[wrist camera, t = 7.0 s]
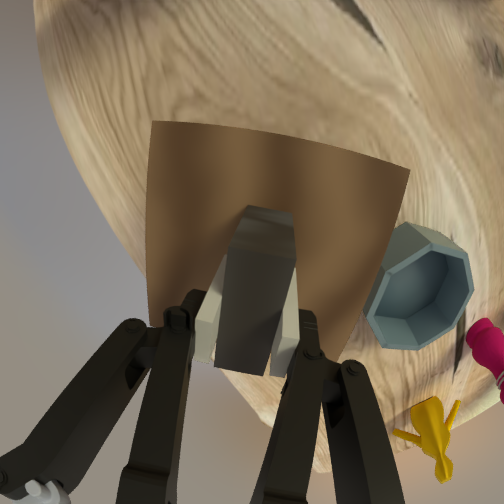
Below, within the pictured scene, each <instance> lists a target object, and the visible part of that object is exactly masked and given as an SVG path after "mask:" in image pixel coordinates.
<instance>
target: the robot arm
mask: <svg viewBox="0 0 504 504" xmlns="http://www.w3.org/2000/svg"><path fill="white" fill-rule="evenodd" d="M226 260H227V254H225V255H224V257H223V259H222V261H221V264H220V266H219V268H218V270H217V272H216V274H215V277H214V279H213V281H212V283H211V285H210V288H209V290H208V292H207V291H202V290H198V289H192V290H191V291H189V292H188V293H187V295H186V296H185V298H184V300H183V302H182V304H181V305H180V306H171V307H169V308H167V309H165V311H164V312H163V320H164V326H163V327H156V328H155V327H154V328H153V327H146V324H145V323H144V322H143V321H142V320H140V319H136V318H132V319H131V318H130V319H127V320H124V321H123V322H122V323H121V324H120V325H119V326H118V327H117V328H116V329H115V330H114V331H113V333H112V334H111V335H110V336H109V337H108V338H107V340H106V341H105V342H104V343H103V344H102V345H101V346H100V348H99V349H98V350H97V351H96V352H95V353H94V354H93V356H92V357H91V358H90V359H89V360H88V361H87V363H86V364H85V365H84V366H83V368H82V369H81V370H80V371H79V372H78V373H77V375H76V376H75V377H74V378H73V379H72V381H71V382H70V383H69V384H68V386H67V387H66V388H65V389H64V390H63V392H62V393H61V394H60V395H59V397H58V398H57V399H56V401H55V402H54V403H53V404H52V406H51V407H50V408H49V410H48V411H47V412H46V413H45V415H44V416H43V417H42V419H41V420H40V421H39V423H38V424H37V425H36V427H35V428H34V429H33V431H32V432H31V434H30V435H29V436H28V437H27V439H26V440H25V442H24V443H23V444H21V445H20V446H18V447H16V448H15V449H13V450H11V451H10V452H8V453H6V454H5V455H3V456H1V457H0V494H2V495H4V496H6V497H7V498H9V499H10V500H11V501H12V502H13V503H14V504H71V501H70V498H69V496H68V495H69V494H70V493H71V492H72V491H73V490H74V489H75V488H76V487H77V486H78V485H79V483H80V482H81V480H82V479H83V477H84V475H85V474H86V472H87V470H88V469H89V467H90V465H91V464H92V462H93V460H94V459H95V457H96V455H97V454H98V452H99V450H100V449H101V447H102V445H103V444H104V442H105V440H106V439H107V437H108V436H109V434H110V432H111V431H112V429H113V427H114V426H115V424H116V423H117V421H118V419H119V418H120V416H121V414H122V413H123V411H124V410H125V408H126V406H127V405H128V403H129V402H130V400H131V398H132V397H133V395H134V394H135V392H136V391H137V389H138V387H139V386H140V384H141V383H142V381H143V380H144V378H145V376H146V375H147V373H148V372H149V370H150V368H151V371H150V375H149V379H148V382H147V386H146V390H145V394H144V397H143V401H142V405H141V409H140V413H139V417H138V421H137V425H136V430H135V434H134V438H133V443H132V448H131V452H130V457H129V461H128V464H127V465H126V466H125V467H124V468H123V470H122V473H121V477H120V481H119V487H118V492H117V499H116V504H177V478H178V468H179V459H180V449H181V441H182V432H183V424H184V416H185V408H186V401H187V394H188V387H189V380H190V373H191V363H192V358H193V356H194V360H195V361H200V362H204V363H208V364H209V362H210V358H211V355H212V352H213V349H214V346H215V342H216V339H217V335H218V327H219V318H220V310H221V301H222V291H223V283H224V275H225V267H226ZM286 373H287V379H286V382H285V384H284V386H283V389H282V391H281V394H282V396H281V400H280V404H279V407H278V411H277V415H276V419H275V423H274V426H273V430H272V433H271V437H270V441H269V444H268V447H267V451H266V454H265V458H264V461H263V464H262V468H261V471H260V474H259V477H258V480H257V483H256V486H255V489H254V492H253V496H252V498H251V501H250V504H308V502H307V500H306V493H307V489H308V484H309V479H310V473H311V468H312V463H313V457H314V451H315V445H316V438H317V432H318V425H319V417H320V409H321V401H322V407H323V413H324V419H325V425H326V431H327V438H328V444H329V451H330V457H331V464H332V471H333V478H334V486H335V493H336V501H337V504H405V501H404V496H403V492H402V487H401V483H400V479H399V475H398V471H397V467H396V463H395V460H394V456H393V452H392V448H391V445H390V441H389V438H388V435H387V431H386V428H385V425H384V421H383V418H382V415H381V412H380V409H379V405H378V402H377V399H376V396H375V393H374V390H373V387H372V384H371V381H370V379H369V376H368V373H367V370H366V368H365V367H364V365H363V364H361V363H360V362H358V361H356V360H351V359H350V360H345V361H344V362H342V364H339V363H337V362H334V361H331V360H329V359H328V358H326V357H325V353H324V352H323V350H322V349H320V342H319V334H318V326H317V318H316V316H315V314H314V313H313V312H312V311H310V310H304V309H298V297H297V281H296V268H294V272H293V276H292V279H291V283H290V287H289V290H288V294H287V298H286V301H285V305H284V308H283V310H282V314H281V317H280V321H279V324H278V328H277V331H276V335H275V338H274V341H273V345H272V351H271V363H270V376H276V377H283V378H285V375H286Z"/></svg>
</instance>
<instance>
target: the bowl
mask: <svg viewBox="0 0 504 504" xmlns="http://www.w3.org/2000/svg"><path fill="white" fill-rule="evenodd" d="M473 292H474V285H473V279H472V273H471V268H470V263H469V258H468V254H467V253H466V252H465V251H464V250H463V249H462V248H460V247H459V246H458V245H457V244H455V243H454V242H453V241H451V240H450V239H449V238H448V237H446V236H445V235H444V234H442V233H441V232H438V231H435V230H432V229H429V228H426V227H422V226H419V225H416V224H412V223H409V222H405V223H403V224H402V225H400V226H398V227H397V228H395V229H394V230H393V232H392V235H391V238H390V241H389V244H388V247H387V250H386V252H385V255H384V258H383V260H382V263H381V266H380V268H379V271H378V273H377V276H376V279H375V281H374V283H373V286H372V288H371V291H370V293H369V295H368V298H367V300H366V302H365V305H364V307H363V312H364V314H365V317H366V319H367V321H368V323H369V324H370V326H371V328H372V330H373V332H374V334H375V336H376V337H377V339H378V341H379V343H380V345H381V347H382V348H387V349H401V350H420V349H421V348H423V347H425V346H426V345H428V344H430V343H431V342H433V341H435V340H436V339H438V338H439V337H441V336H443V335H444V334H446V333H447V332H449V331H450V330H452V329H453V328H454V327H455V325H456V324H457V322H458V320H459V318H460V317H461V315H462V313H463V311H464V309H465V307H466V305H467V304H468V302H469V300H470V298H471V296H472V294H473Z"/></svg>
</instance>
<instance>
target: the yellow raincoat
mask: <svg viewBox="0 0 504 504" xmlns="http://www.w3.org/2000/svg"><path fill="white" fill-rule="evenodd" d="M460 403H461V401H460V400H455V403H454V405H453V407H452V409H451V411H450V413H449V415H448V418H447V420H446V422H445V424H444V422H443V421H444V409H443V405H442V403H441V401H440V400H439V399H438V398H437V397H436V396H434V397H432V398H430V399H428V400H426V401H424V402H421V403H419V404H417V405H415V406H413V407H412V408H411V411H410V415H411V421H412V424H413V427H414V429H415V430H416V431H417V432H418V433H419V434H420V437H419V436H417V435H414V434H411V433H408V432H405V431H402V430H399V429H396V428H395V429H394V431H393V433H392V434H393V435H395V436H397V437H400V438H402V439H404V440H407V441H411V442H413V443H414V444H416V445H417V446H419V447H420V448H422V451H423V452H424V453H425V454H426V455H428V456H431V457H432V458H434V459H435V460H436V466H435V476H436V478H437V479H438V481H439V482H440V483H441V484H443V483H444V482H447V481H449V480H451V477H452V472H453V463H452V462H451V460H450V459H449V458H448V457H447V456H446V455H445V452H446V449H447V447H448V445H449V442H450V432H449V431H450V429H451V426H452V424H453V421H454V418H455V416H456V414H457V411H458V408H459V406H460Z"/></svg>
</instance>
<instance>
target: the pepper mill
mask: <svg viewBox="0 0 504 504" xmlns="http://www.w3.org/2000/svg"><path fill="white" fill-rule="evenodd" d="M466 342H467V343H468V345H469V347H470V348H471V349H472V356H473V358H474V359H475V361H476V362H477V363H479V364H480V365H482V366H484V367H486V368H487V369H489V370H490V371H491V372H492V373H493V375H494V376H495V378H496V385H497V386H498V389H499V390H501V392H500V399H501V401H502V403H503V404H504V335H503V333H502V331H501V330H500V329H499V328H497V327H494V326H493V324H492V322H491V321H490V320H489V319H488V318H482V319H480V320H478V321H477V322H476V323H475V324H474V325H473V326H472V327H471V328H470V330H469V332H468V334H467V336H466Z"/></svg>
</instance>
